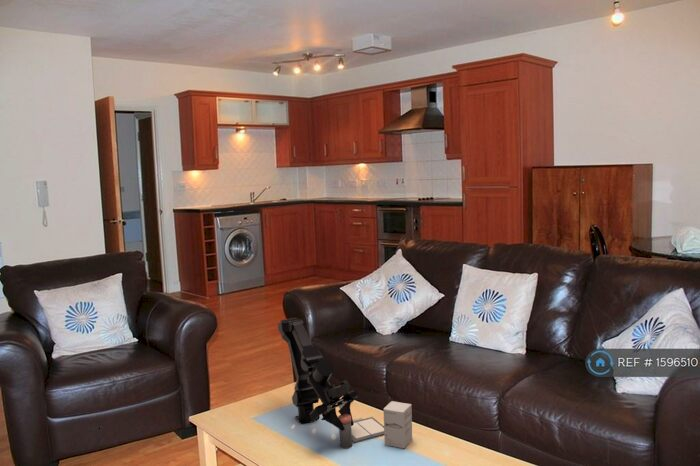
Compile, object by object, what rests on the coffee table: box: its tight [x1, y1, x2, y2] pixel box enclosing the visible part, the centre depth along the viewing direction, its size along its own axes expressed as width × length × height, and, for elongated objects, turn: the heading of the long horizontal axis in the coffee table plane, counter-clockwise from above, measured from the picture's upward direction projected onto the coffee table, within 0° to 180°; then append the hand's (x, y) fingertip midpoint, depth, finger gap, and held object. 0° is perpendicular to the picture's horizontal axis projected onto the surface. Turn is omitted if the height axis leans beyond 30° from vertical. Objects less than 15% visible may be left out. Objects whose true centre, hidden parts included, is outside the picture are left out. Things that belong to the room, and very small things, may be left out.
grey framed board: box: [337, 416, 384, 444], centre depth 206 cm, size 14×14×1 cm
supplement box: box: [383, 400, 413, 449], centre depth 196 cm, size 7×7×13 cm
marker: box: [337, 414, 353, 449], centre depth 195 cm, size 4×4×10 cm
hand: (348, 427), depth 194 cm, fingers closed on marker, 4 cm apart
